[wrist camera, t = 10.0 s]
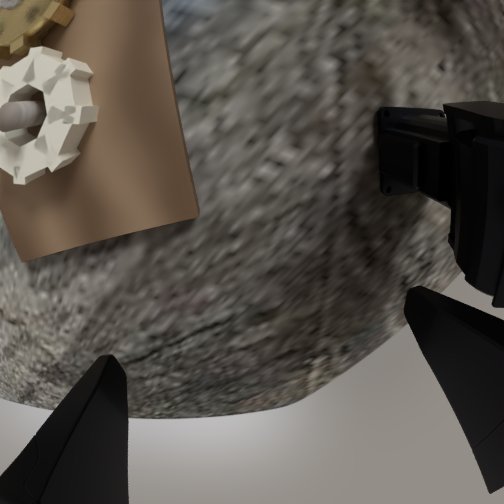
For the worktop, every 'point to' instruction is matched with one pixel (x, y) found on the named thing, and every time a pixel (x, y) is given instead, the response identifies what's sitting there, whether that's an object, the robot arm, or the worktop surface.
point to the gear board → (105, 137)
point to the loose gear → (58, 113)
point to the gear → (29, 23)
